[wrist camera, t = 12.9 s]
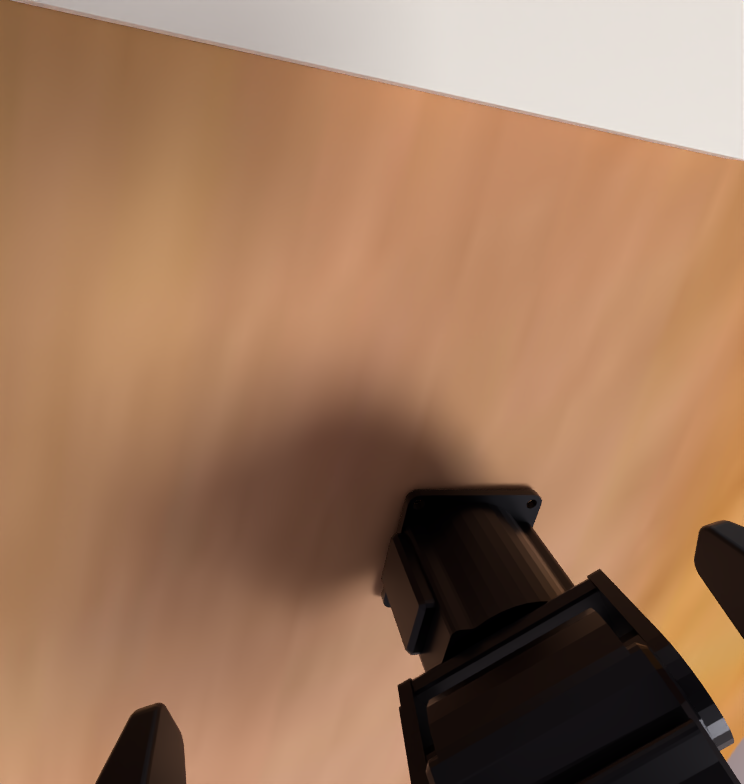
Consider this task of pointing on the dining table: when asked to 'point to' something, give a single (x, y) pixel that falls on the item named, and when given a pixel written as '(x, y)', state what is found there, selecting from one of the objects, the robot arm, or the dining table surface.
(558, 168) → the dining table surface
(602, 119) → the board
